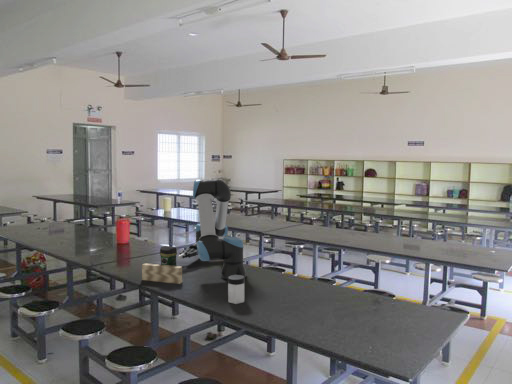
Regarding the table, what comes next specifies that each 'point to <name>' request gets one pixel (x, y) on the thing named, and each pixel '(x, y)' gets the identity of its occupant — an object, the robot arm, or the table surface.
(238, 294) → the jar
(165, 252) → the coffee jar
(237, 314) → the table surface
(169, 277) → the wooden block
